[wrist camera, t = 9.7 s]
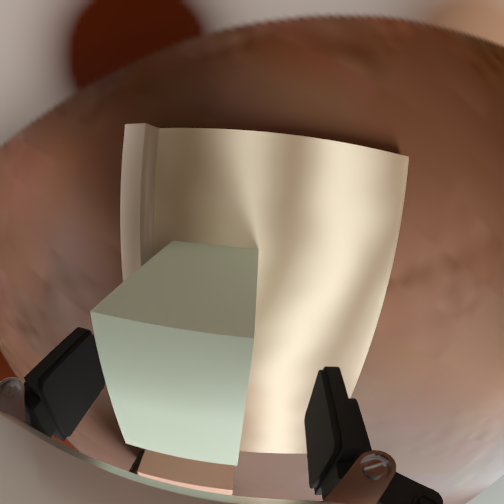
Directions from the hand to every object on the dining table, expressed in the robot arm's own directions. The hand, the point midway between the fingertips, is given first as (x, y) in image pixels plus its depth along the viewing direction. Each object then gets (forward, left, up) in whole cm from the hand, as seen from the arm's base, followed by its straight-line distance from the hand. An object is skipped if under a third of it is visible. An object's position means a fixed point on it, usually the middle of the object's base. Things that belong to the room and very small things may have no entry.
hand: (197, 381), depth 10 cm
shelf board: (-2, +3, -8) cm, 9 cm away
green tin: (+1, 0, -7) cm, 7 cm away
